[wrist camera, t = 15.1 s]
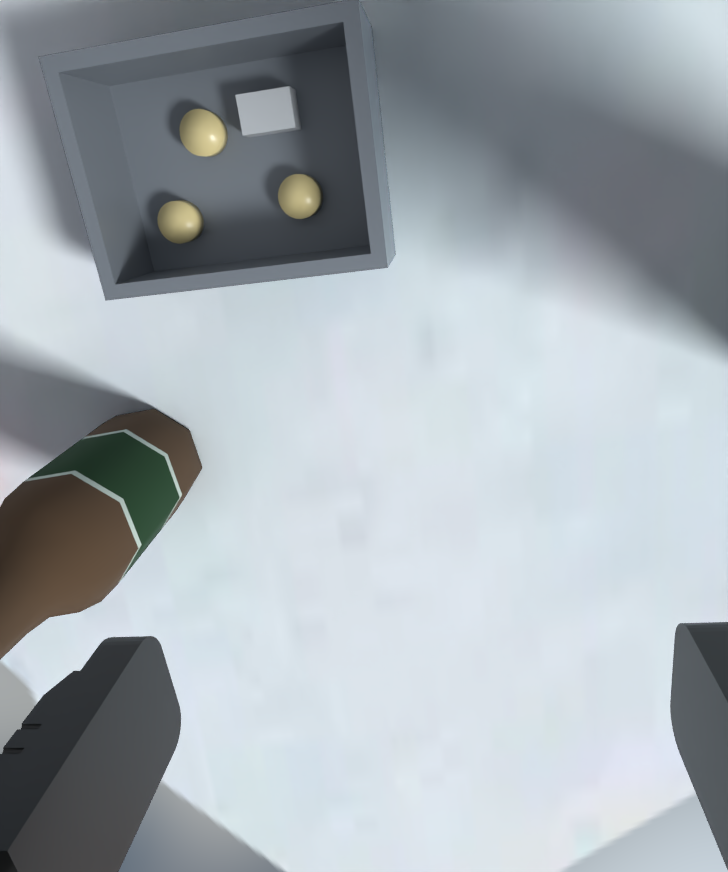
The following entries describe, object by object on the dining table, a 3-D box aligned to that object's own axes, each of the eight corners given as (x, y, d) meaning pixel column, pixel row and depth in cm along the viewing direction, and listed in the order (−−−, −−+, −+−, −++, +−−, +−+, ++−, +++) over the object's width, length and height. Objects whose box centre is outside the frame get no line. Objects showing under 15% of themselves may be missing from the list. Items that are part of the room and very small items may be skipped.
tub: (371, 26, 34) (358, -2, 29) (395, 254, 39) (387, 267, 33) (99, 74, 37) (38, 56, 31) (150, 283, 41) (105, 300, 35)
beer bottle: (227, 470, 46) (26, 746, 24) (150, 519, 48) (-97, 811, 26) (156, 384, 44) (-134, 597, 22) (80, 439, 46) (-251, 682, 24)
